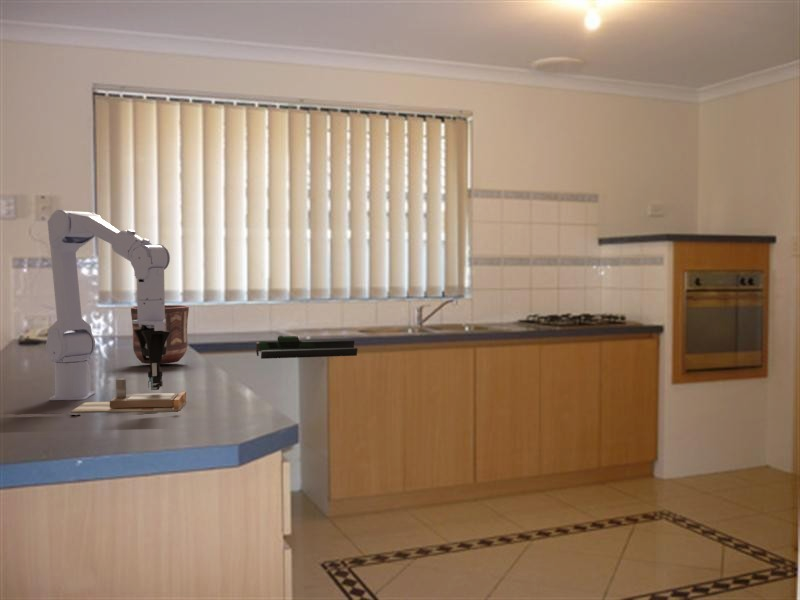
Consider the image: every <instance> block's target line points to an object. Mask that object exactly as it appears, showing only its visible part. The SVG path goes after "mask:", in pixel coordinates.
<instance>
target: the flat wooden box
mask: <svg viewBox="0 0 800 600" xmlns="http://www.w3.org/2000/svg"><path fill="white" fill-rule="evenodd" d="M186 403H187V391H181V392H180V393H178V396H177V397H176V398H175V399H174V406H173V407H131V408H110V401H85V402H83V403H81V404H80V405H79V406H77V407H75V408H74V409H72V410H71V411H70V414H71V413H79V414H81V413H83V414H84V413H118V412H119V413H123V412H124V413H125V412H127V413H128V412H170V411H180V410H181V408H183V406H184V405H186Z"/></svg>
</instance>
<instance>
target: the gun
mask: <svg viewBox="0 0 800 600" xmlns="http://www.w3.org/2000/svg"><path fill="white" fill-rule="evenodd" d="M255 351H256V353H255V354H256V356H257V357H258V356H260V359H262V360H265V359H268V360H269V359H290V358H291V359H293V358H294V359H295V358H297V359H298V358H322V357H323V358H324V357H325V358H327V357H329V358H330V357H331V358H332V357H357V356H358V347H355V339H328V340H327V339H326V340H325V339H322V340H300V338H299V336H298V335H292V336H291V335H288V336H287V335H286V336H285V335H278V336H277V340H275V341H270V340H269V341H266V340H265V341H264V340H263V341H262V340H261V341H256V342H255ZM259 352H260V355H259Z"/></svg>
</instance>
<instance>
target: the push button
mask: <svg viewBox="0 0 800 600" xmlns="http://www.w3.org/2000/svg"><path fill="white" fill-rule="evenodd" d="M166 349H167V347H165V346H164V349H163V354H162V356H163V355H165V354H166ZM142 351H143V355H144V356H146V357H147V358H149V356H148V349H147V344H146V346H145V347H144V348H142ZM149 365H150V367H149V371H147V376H148V379H149V380H148V381H147V382H148V383H147V384H148V389H149V388H150V390H151V391H159V390H160V388H161V387H162V388H164V385H163V383H164V382H163V381H164V380H163V370H161V365H160V364H159V363H150V364H149Z"/></svg>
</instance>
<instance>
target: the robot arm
mask: <svg viewBox="0 0 800 600" xmlns="http://www.w3.org/2000/svg"><path fill="white" fill-rule="evenodd" d="M47 228H48V229H47V230H48V241H49V246H50V247H49V248H50V257H51V267H52V268H51V271H52V281H53V289H54V302H55V312H56V321H55V322H54V323H53V324H52V325H50V326H49V327H48V329H47V331H46V332H47V338H46V343H45V349H46V354H47V355H48V357H49V358H50V359H51V362H54V392H55V393H54V395H53V396H51V397H50V398H49V399H48V400H49V401H79V400H80V401H81V400H83V401H84V400H87V399H88V398H90V397H92V396H93V395H94V394H96V391H92V379H91V378H92V377H91V370H92V369H91V367H90V366H91V365H90V364H89V363H88V360H91V356H92V355H93V353H94V352H95V350H96V349H95V348H96V339H95V337H94V335H93V333H92V327H91V325H90V323H88V322H87V321H86V320H85V319H83V318H82V307H81V297H80V295H81V294H80V287H79V276H78V275H79V274H78V265H77V256H76V255H77V254H76V253H77V252H78V251H79V249H80V248H82V247H83V246H85V245H86V244H88V243H89V242H90V241H92V240H93V239H94V238H96V237H97V238H98V239H101V240H102V241H104V242H106V243H108V244H110V245H111V249H112V251H113V252H114V253H115V254H118V255H119V256H121V257H122V258H123V259H126V260H127V261H129V262H130V264H131V266H132V268H133V270H134V272H133V273H134V276H135V279H136V292H137V293H136V296H137V300H136V301H137V303H136V306H137V312H138V320H132V319H131V324H132V323H133V324H139V326H140V327H142V328H141V329H134V332H135V334H136V336H137V338H138V341H139V344H140V347H141V352H142V356H143V359H144V360H150V363H160V362H161V359H162V354H163V349H164V345H165V342H166V340H167V338H168V336H169V334H170V331H165V323H166V319H165V299H166V297H165V295H166V294H165V270H166V269H167V268H168V267H169V265H170V261H171V255H170V252H169V250H168V249H167V248H166V247H165V246H164V244H152V243H151V242H150V240H149V239H147V238H143V237H141V236H139V235H138V234H136V231H135V230H134V229H124V230H119V229H117V228H116V227H115V226H113V225H111V224H110V223H109V222H107V221H106V220H105V219H102V216H101V215H99V214H96V213H95V212H93V211H77V210H76V211H75V210H63V209H56V210H55V211H53V213H52V214H51V215H50V217H49V219H48V220H47ZM68 331H73V332H68ZM146 344H147V349H148V356H149V358H147V357H146V356H144V355H143V351H142V348H144V347H145V346H146Z"/></svg>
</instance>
